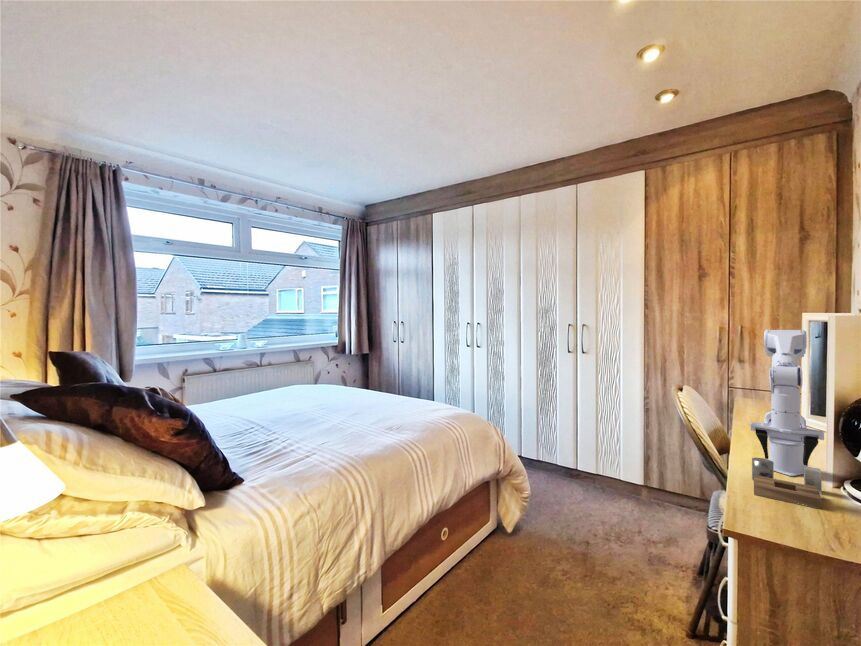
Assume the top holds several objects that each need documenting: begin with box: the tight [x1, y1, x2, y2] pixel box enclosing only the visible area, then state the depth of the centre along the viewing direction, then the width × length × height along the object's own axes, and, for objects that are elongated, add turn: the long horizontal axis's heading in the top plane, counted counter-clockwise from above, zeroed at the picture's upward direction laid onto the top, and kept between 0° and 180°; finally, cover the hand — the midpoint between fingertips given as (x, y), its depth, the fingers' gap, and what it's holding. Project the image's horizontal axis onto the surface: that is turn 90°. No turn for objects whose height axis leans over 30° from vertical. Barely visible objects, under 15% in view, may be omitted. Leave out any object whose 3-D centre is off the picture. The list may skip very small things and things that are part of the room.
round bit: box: [751, 457, 775, 481], centre depth 114 cm, size 5×5×6 cm
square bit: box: [803, 466, 823, 495], centre depth 107 cm, size 3×3×6 cm
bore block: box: [753, 475, 823, 510], centre depth 104 cm, size 9×13×2 cm
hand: (785, 461), depth 104 cm, fingers open, 7 cm apart
